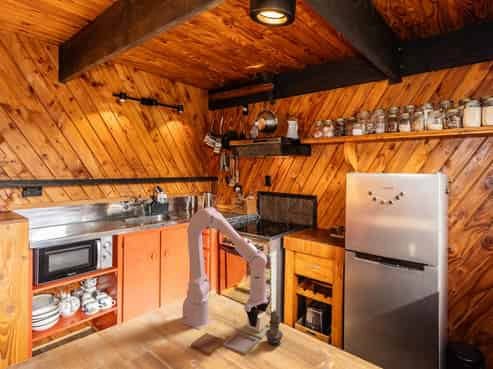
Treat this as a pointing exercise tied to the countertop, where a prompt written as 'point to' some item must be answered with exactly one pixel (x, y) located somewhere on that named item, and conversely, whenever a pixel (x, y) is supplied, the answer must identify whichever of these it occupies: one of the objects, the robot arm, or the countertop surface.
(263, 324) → the letter cube
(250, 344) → the tray grey
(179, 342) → the countertop surface
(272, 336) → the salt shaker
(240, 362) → the countertop surface
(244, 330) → the tray sage
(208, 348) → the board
